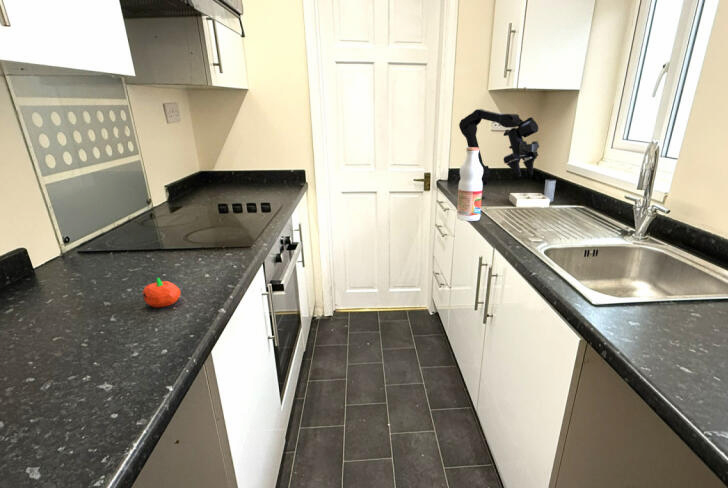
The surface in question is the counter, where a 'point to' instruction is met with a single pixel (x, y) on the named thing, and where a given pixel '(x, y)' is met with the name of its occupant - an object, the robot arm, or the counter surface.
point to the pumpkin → (161, 293)
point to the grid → (529, 200)
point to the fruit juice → (470, 187)
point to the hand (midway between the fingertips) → (525, 175)
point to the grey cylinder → (549, 189)
